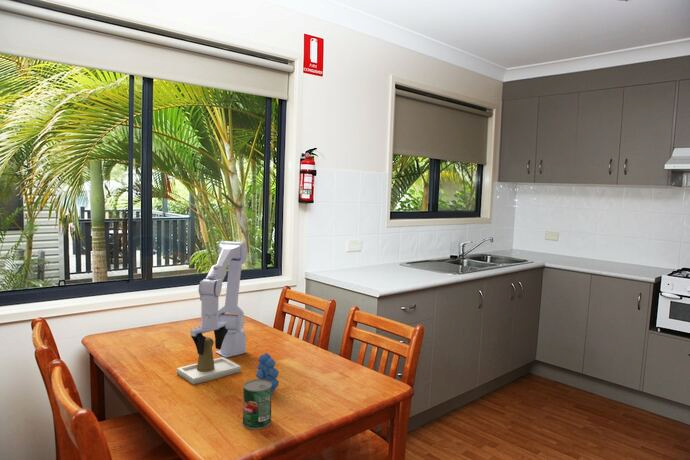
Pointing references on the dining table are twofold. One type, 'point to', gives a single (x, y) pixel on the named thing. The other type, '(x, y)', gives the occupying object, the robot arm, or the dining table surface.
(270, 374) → the grapes
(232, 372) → the white tray
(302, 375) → the dining table surface
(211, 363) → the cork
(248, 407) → the canned tomato
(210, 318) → the robot arm
